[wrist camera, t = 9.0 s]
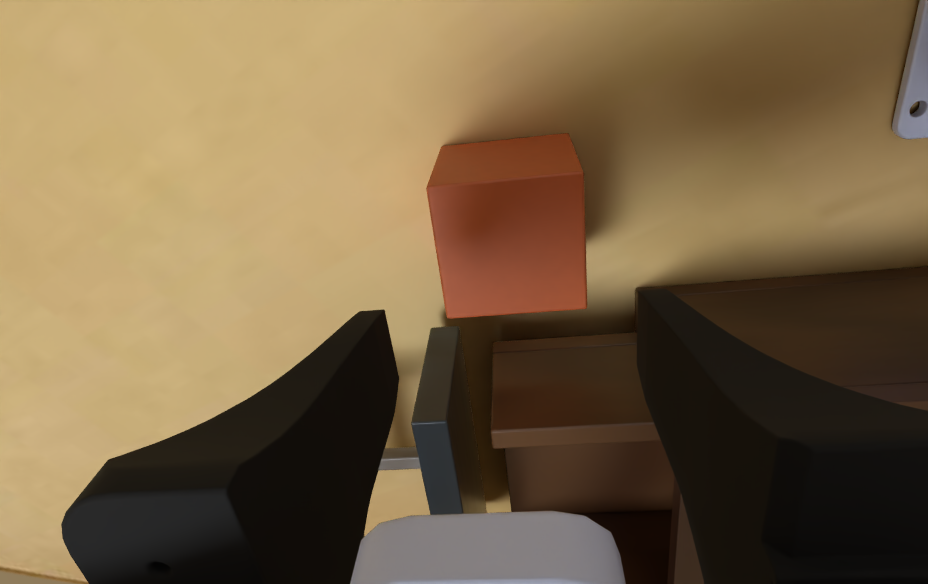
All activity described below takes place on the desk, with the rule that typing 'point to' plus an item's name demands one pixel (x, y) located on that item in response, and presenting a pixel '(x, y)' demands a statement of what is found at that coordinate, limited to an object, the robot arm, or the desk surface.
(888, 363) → the cabinet
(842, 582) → the robot arm
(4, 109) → the desk surface
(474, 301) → the block
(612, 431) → the drawer
